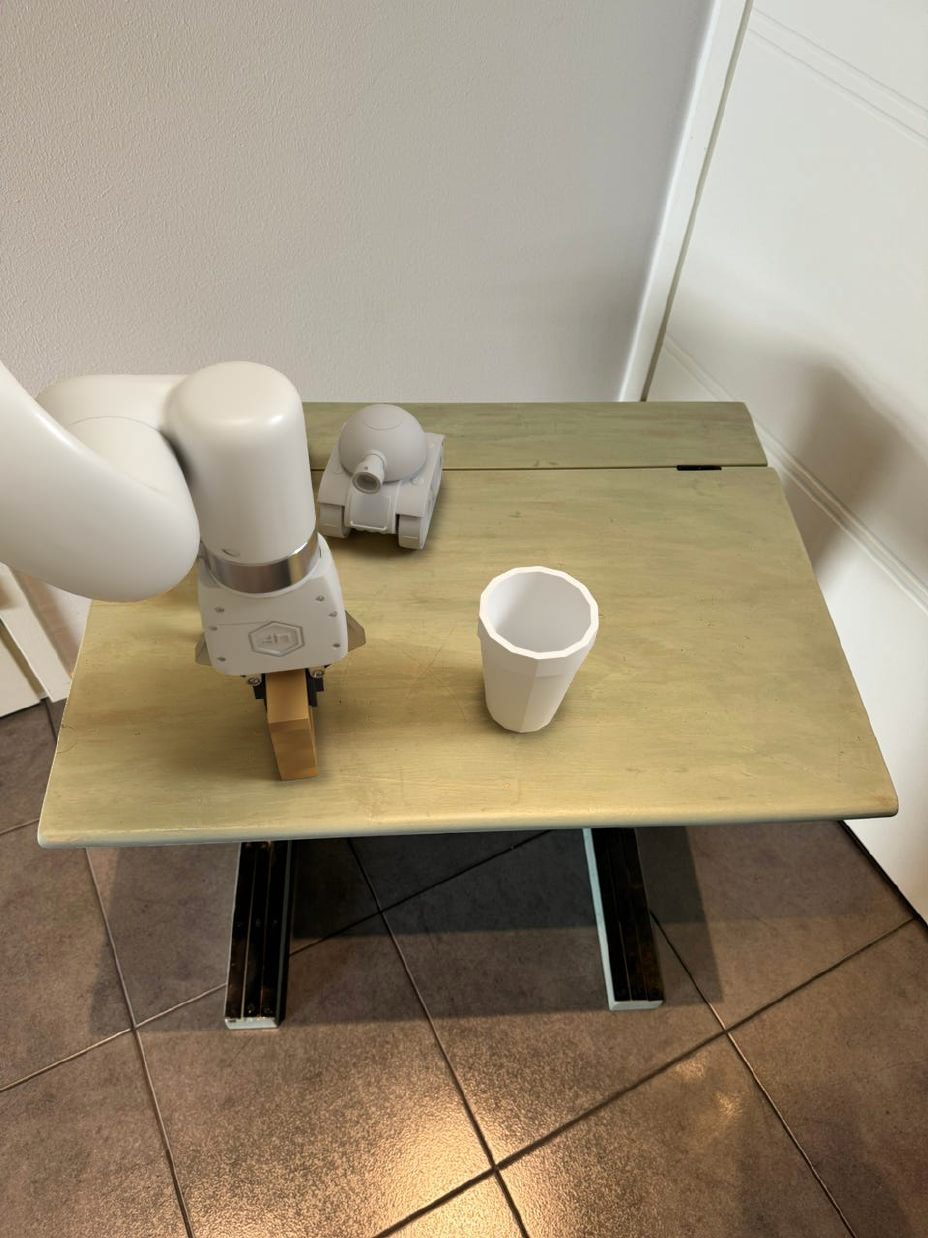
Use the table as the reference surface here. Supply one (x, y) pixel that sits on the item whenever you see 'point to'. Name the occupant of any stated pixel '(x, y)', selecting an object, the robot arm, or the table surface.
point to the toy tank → (382, 476)
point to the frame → (291, 724)
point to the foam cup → (533, 643)
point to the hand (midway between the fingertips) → (291, 694)
